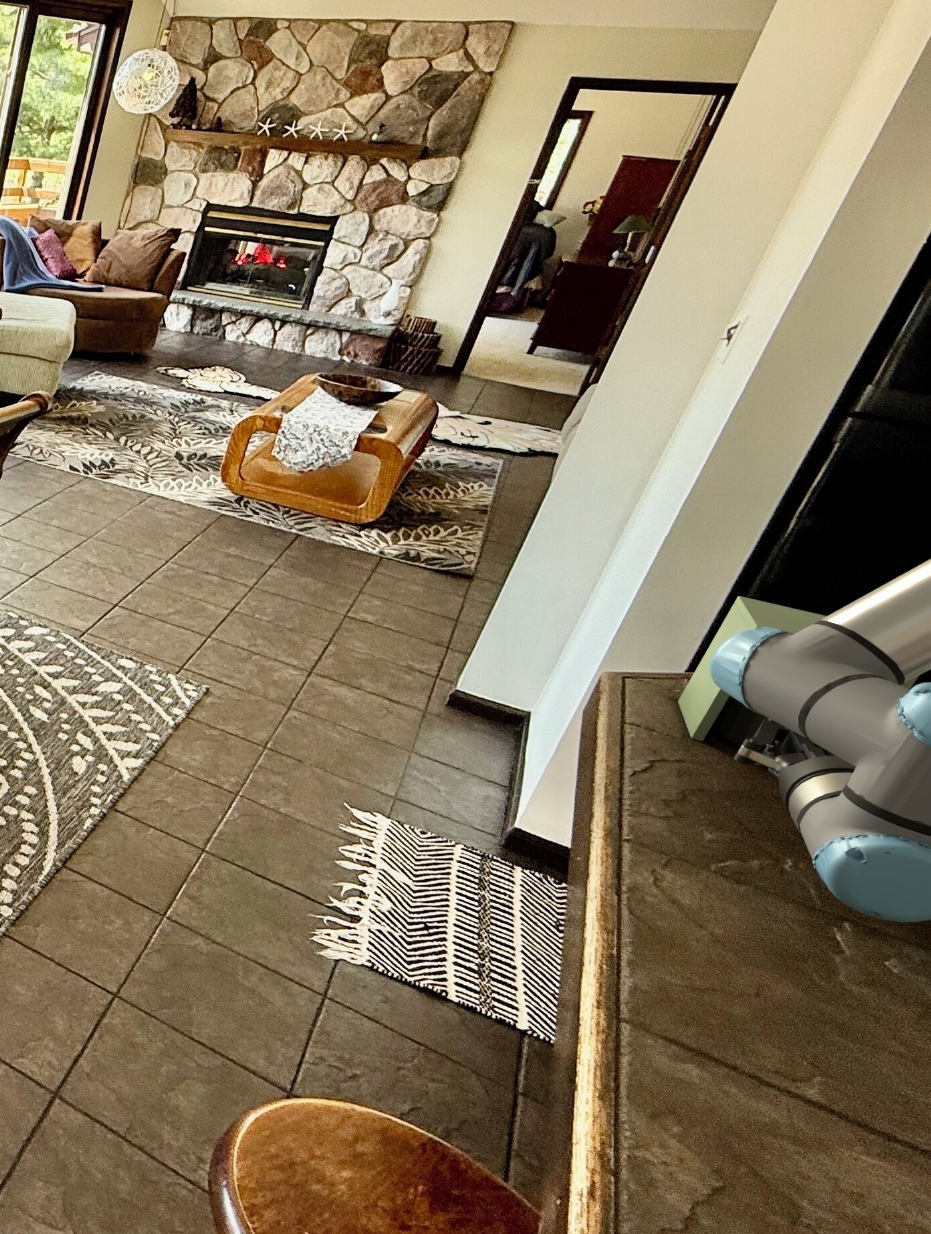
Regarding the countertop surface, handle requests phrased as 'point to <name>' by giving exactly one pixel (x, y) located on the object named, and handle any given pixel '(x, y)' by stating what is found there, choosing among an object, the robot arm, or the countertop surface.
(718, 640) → the u-shaped block
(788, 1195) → the countertop surface
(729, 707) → the black cylinder
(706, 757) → the countertop surface
